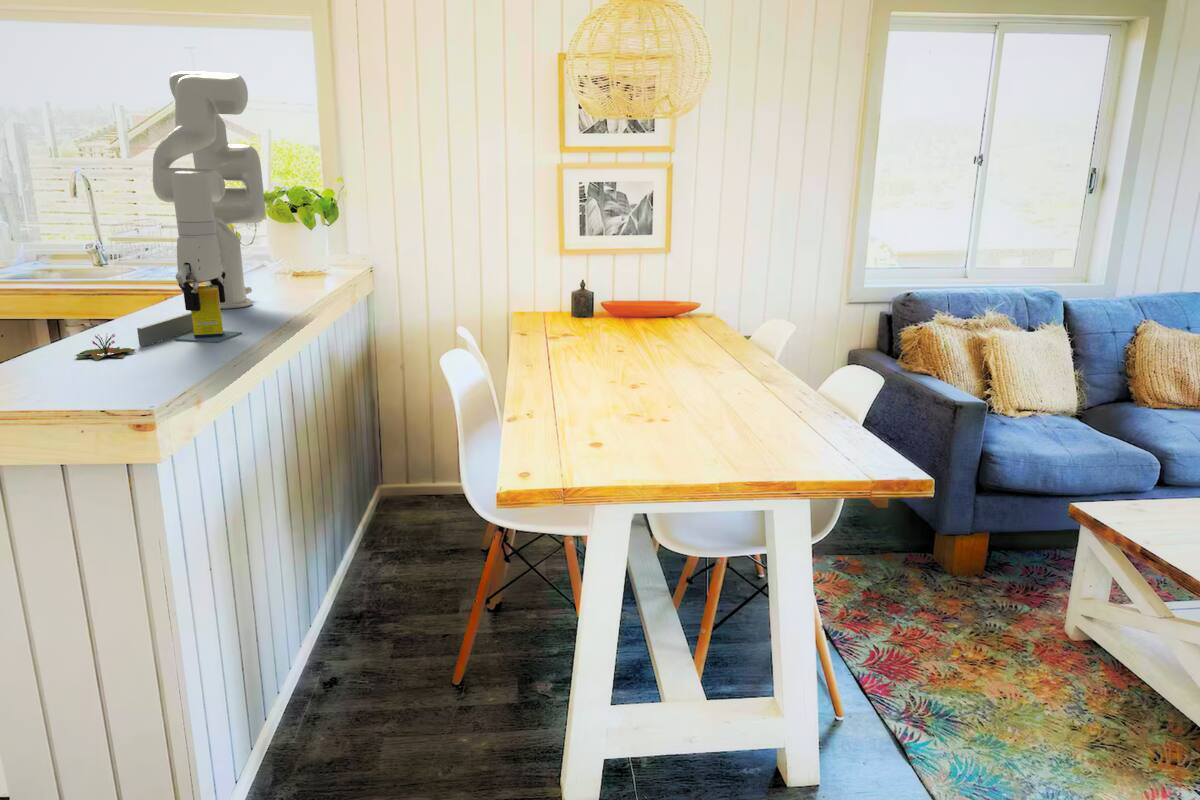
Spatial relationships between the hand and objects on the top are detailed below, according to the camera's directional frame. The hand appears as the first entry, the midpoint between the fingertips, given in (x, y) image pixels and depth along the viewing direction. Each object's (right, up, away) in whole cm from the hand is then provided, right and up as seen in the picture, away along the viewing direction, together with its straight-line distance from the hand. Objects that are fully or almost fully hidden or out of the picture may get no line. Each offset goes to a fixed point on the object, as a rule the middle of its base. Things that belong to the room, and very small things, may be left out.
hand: (206, 306), depth 180 cm
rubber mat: (0, -7, +1) cm, 7 cm away
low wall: (-8, -6, +2) cm, 10 cm away
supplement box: (0, -7, +1) cm, 7 cm away
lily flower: (-13, -12, -16) cm, 24 cm away
